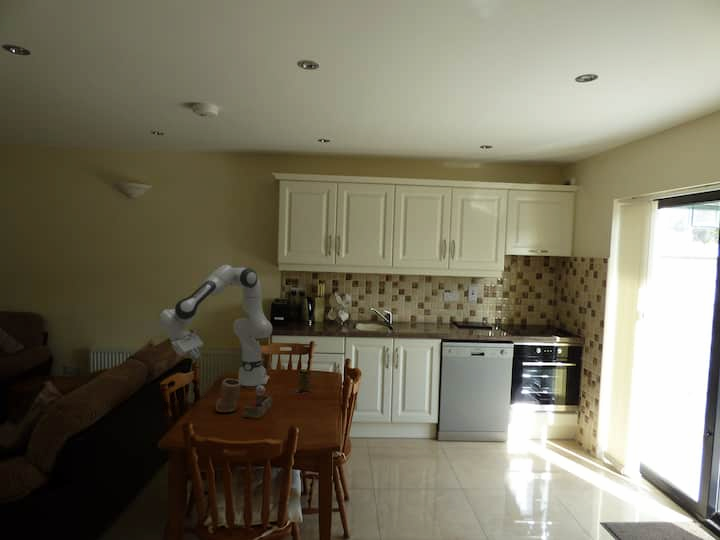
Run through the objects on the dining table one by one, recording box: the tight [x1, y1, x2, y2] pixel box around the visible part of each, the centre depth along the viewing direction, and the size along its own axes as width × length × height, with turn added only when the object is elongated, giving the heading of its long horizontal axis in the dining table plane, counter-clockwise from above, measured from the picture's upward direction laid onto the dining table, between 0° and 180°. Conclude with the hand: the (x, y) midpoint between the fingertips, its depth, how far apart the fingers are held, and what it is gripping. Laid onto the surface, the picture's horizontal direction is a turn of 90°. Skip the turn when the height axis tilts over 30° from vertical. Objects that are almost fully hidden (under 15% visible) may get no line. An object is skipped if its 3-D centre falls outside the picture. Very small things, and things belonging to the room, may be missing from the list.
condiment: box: [294, 369, 310, 395], centre depth 258 cm, size 7×8×12 cm
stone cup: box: [215, 378, 242, 413], centre depth 226 cm, size 15×12×15 cm
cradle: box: [242, 384, 274, 419], centre depth 224 cm, size 19×10×15 cm, turn 172°
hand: (198, 357), depth 228 cm, fingers closed
